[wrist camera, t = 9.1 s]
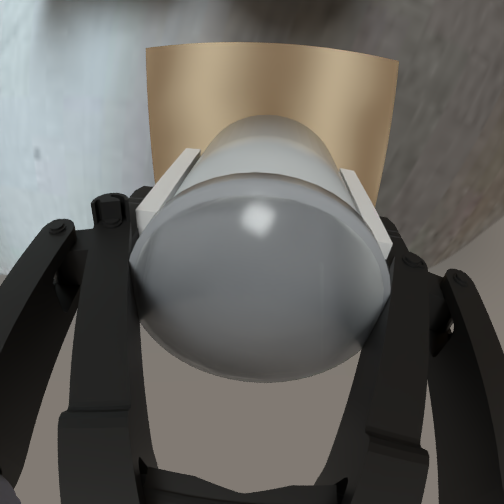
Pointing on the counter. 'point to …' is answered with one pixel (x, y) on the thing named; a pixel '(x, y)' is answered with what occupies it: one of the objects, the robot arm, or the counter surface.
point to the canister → (260, 259)
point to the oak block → (272, 98)
